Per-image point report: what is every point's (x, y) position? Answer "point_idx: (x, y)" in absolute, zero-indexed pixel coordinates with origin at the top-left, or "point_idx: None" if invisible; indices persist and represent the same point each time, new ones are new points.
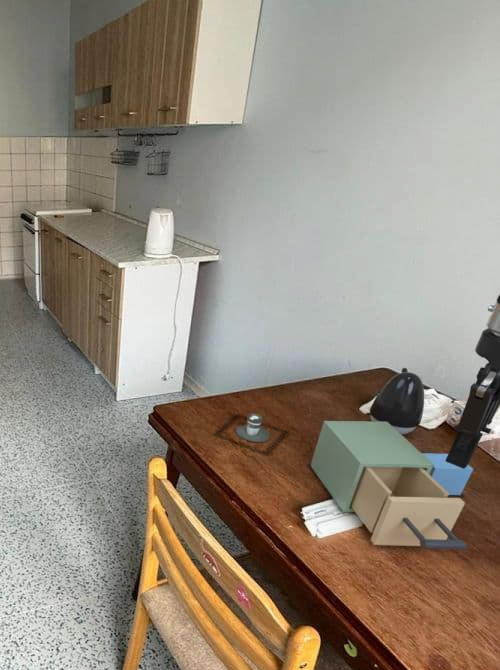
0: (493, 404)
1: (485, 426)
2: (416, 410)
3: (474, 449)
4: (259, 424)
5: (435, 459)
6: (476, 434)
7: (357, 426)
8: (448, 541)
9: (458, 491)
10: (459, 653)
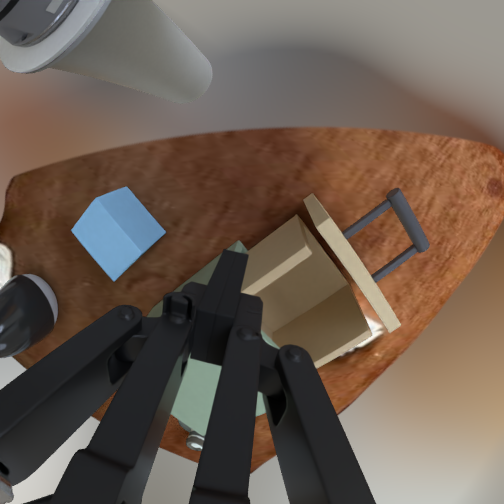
0: (212, 459)
1: (178, 326)
2: (16, 299)
3: (224, 278)
4: (198, 436)
5: (113, 256)
6: (303, 356)
7: (176, 403)
8: (410, 217)
9: (127, 192)
10: (477, 168)
